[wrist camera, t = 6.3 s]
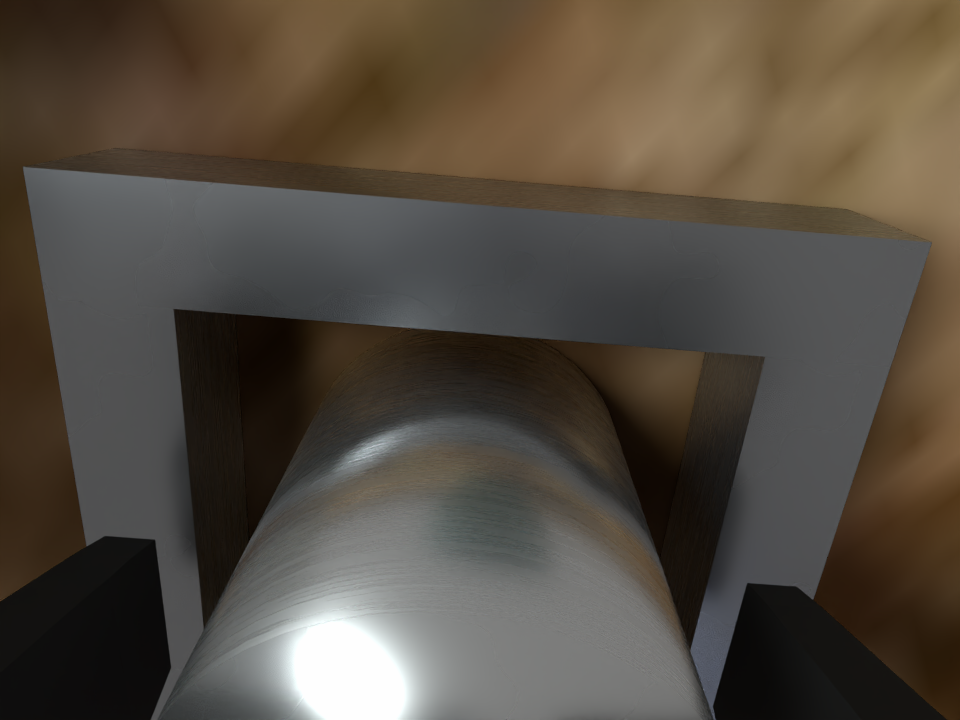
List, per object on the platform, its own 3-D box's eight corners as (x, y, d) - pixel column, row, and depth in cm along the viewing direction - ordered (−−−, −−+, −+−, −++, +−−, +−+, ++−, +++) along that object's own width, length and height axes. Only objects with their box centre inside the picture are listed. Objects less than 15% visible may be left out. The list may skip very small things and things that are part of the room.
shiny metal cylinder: (612, 588, 12) (711, 1021, 7) (328, 591, 12) (193, 1017, 7) (625, 317, 10) (782, 607, 5) (289, 326, 10) (59, 617, 5)
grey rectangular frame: (847, 209, 10) (931, 242, 8) (700, 731, 13) (734, 837, 12) (115, 148, 9) (23, 166, 8) (179, 693, 13) (128, 794, 11)
